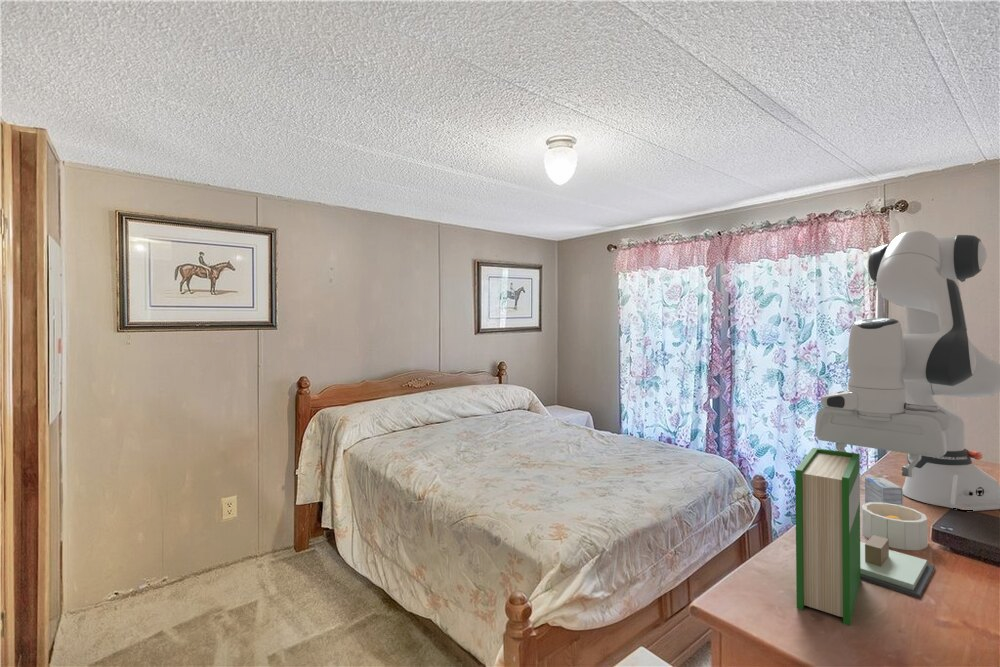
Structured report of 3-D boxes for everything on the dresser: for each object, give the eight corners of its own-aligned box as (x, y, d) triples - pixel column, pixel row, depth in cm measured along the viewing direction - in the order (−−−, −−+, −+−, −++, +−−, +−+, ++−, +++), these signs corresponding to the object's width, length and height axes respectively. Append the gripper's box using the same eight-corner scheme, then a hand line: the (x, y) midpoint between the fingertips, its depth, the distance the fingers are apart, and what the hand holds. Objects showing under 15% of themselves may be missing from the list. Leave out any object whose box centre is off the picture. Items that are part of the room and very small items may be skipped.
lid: (847, 542, 103) (847, 522, 103) (927, 565, 93) (926, 542, 93) (828, 563, 95) (827, 540, 95) (913, 590, 85) (913, 565, 85)
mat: (843, 542, 104) (843, 539, 104) (934, 568, 93) (934, 565, 93) (820, 565, 95) (820, 562, 95) (919, 598, 83) (919, 594, 83)
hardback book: (850, 625, 76) (848, 478, 76) (796, 608, 81) (795, 469, 81) (860, 579, 89) (859, 453, 89) (813, 567, 94) (812, 447, 94)
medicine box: (904, 524, 113) (903, 488, 113) (882, 523, 114) (882, 487, 113) (884, 511, 121) (884, 477, 120) (864, 510, 121) (864, 476, 121)
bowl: (901, 528, 111) (901, 502, 111) (940, 550, 100) (940, 522, 100) (851, 527, 112) (851, 502, 112) (884, 549, 101) (884, 521, 101)
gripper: (951, 404, 87) (951, 479, 88) (821, 393, 103) (822, 456, 103) (945, 409, 83) (945, 487, 83) (811, 397, 99) (812, 463, 99)
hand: (876, 470), depth 93 cm, fingers open, 8 cm apart
